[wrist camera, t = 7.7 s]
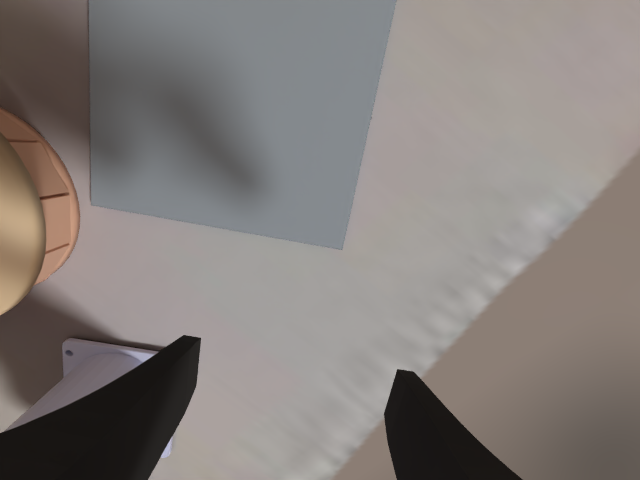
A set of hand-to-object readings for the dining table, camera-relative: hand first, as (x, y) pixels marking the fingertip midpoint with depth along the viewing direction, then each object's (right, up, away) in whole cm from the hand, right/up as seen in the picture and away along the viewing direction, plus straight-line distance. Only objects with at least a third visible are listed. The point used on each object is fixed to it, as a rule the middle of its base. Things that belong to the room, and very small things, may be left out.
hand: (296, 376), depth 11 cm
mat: (-4, +13, +7) cm, 16 cm away
